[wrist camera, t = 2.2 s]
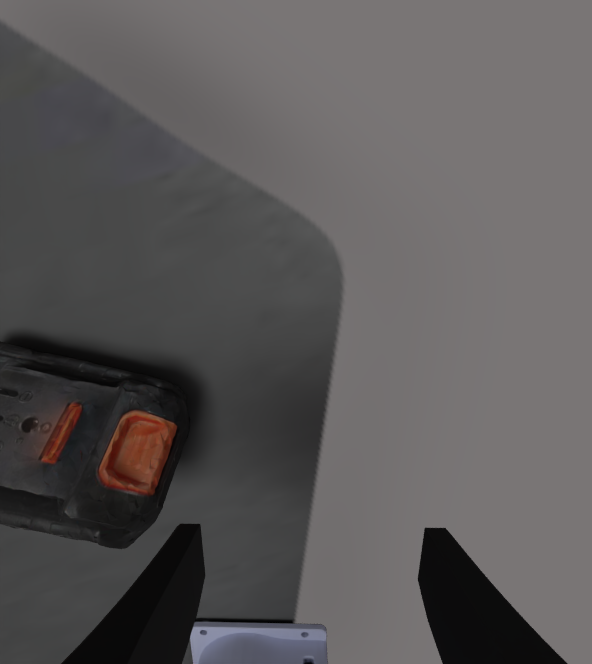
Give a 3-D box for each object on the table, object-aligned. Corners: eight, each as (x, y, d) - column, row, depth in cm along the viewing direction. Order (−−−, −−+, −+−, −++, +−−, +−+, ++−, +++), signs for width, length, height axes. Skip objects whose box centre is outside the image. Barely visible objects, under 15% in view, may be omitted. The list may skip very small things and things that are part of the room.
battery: (210, 425, 22) (203, 372, 17) (143, 579, 17) (101, 578, 12) (34, 369, 23) (-32, 297, 17) (-80, 504, 18) (-225, 467, 12)
